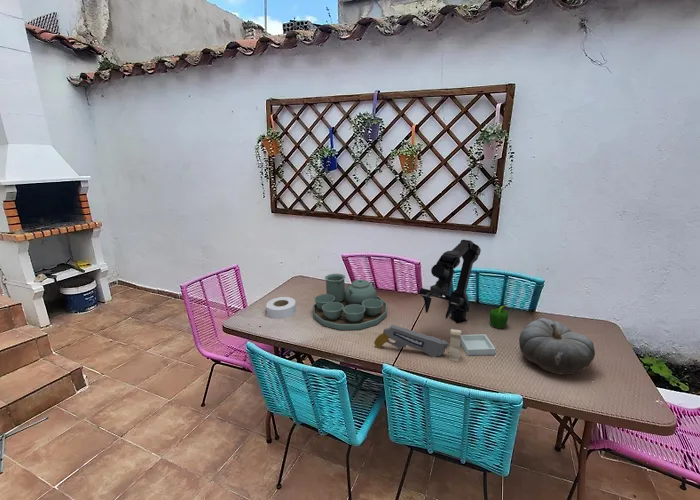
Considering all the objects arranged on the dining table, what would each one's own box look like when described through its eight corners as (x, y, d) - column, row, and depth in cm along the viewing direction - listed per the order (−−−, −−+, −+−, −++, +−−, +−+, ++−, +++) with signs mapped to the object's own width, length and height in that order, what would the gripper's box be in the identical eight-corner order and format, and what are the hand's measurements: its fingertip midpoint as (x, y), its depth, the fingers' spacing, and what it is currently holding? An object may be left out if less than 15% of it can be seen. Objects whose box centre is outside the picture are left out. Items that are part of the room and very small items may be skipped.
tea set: (300, 324, 172) (297, 294, 168) (332, 293, 208) (330, 268, 203) (375, 337, 159) (375, 305, 154) (395, 302, 194) (396, 274, 189)
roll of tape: (291, 319, 177) (290, 310, 176) (262, 318, 180) (261, 308, 178) (300, 306, 192) (299, 297, 190) (273, 305, 194) (272, 296, 193)
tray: (458, 340, 153) (459, 334, 152) (484, 340, 153) (485, 334, 152) (467, 355, 142) (467, 349, 141) (495, 355, 142) (495, 348, 141)
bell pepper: (496, 331, 160) (498, 312, 157) (485, 323, 168) (487, 304, 165) (511, 328, 162) (513, 309, 159) (499, 320, 170) (501, 302, 167)
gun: (431, 376, 145) (449, 346, 139) (372, 347, 149) (386, 316, 143) (432, 371, 149) (449, 341, 142) (373, 342, 153) (387, 312, 146)
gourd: (528, 331, 154) (539, 300, 146) (591, 361, 139) (607, 328, 131) (506, 361, 138) (516, 327, 130) (575, 398, 123) (591, 363, 115)
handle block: (449, 354, 144) (451, 329, 140) (459, 356, 142) (461, 330, 139) (448, 359, 140) (450, 334, 137) (458, 361, 139) (460, 335, 135)
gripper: (418, 273, 149) (409, 308, 148) (459, 282, 138) (450, 320, 136) (428, 277, 158) (419, 310, 156) (467, 286, 146) (459, 322, 145)
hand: (436, 315), depth 148 cm, fingers open, 9 cm apart
